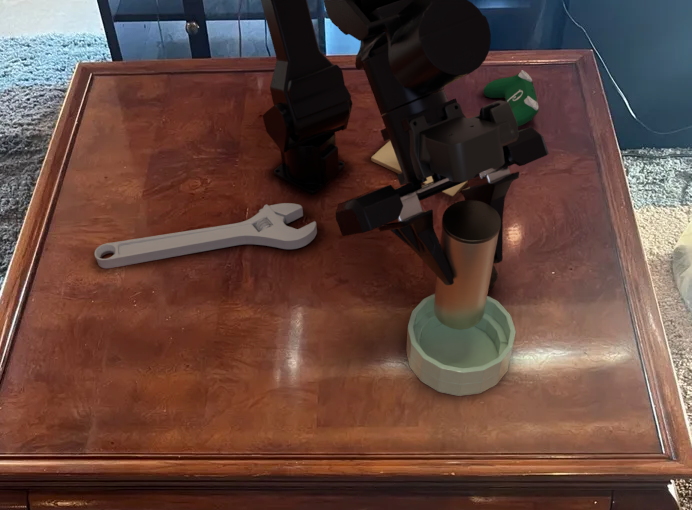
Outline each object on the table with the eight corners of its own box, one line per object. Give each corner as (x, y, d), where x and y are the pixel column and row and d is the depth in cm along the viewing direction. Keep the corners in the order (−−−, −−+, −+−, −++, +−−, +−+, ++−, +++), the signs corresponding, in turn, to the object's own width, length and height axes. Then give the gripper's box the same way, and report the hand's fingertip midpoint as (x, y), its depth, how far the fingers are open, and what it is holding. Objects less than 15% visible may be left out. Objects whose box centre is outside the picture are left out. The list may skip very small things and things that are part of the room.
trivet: (370, 160, 101) (371, 157, 100) (425, 111, 106) (425, 107, 106) (452, 199, 96) (452, 195, 95) (505, 146, 101) (505, 142, 101)
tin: (423, 314, 77) (430, 224, 68) (451, 283, 80) (462, 192, 70) (466, 338, 75) (481, 249, 66) (494, 305, 78) (512, 215, 68)
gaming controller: (506, 147, 104) (545, 119, 100) (487, 130, 102) (527, 101, 98) (497, 102, 109) (534, 75, 106) (480, 86, 107) (517, 57, 104)
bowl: (387, 364, 82) (387, 337, 78) (443, 302, 86) (446, 273, 83) (473, 416, 77) (478, 390, 74) (527, 347, 82) (534, 320, 79)
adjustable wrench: (97, 271, 91) (92, 261, 90) (101, 231, 95) (97, 221, 94) (316, 247, 92) (315, 236, 90) (311, 209, 96) (310, 197, 94)
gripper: (349, 121, 59) (423, 318, 61) (555, 42, 64) (615, 228, 66) (305, 146, 69) (370, 314, 72) (485, 77, 74) (539, 236, 77)
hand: (473, 273), depth 72 cm, fingers closed on tin, 5 cm apart
